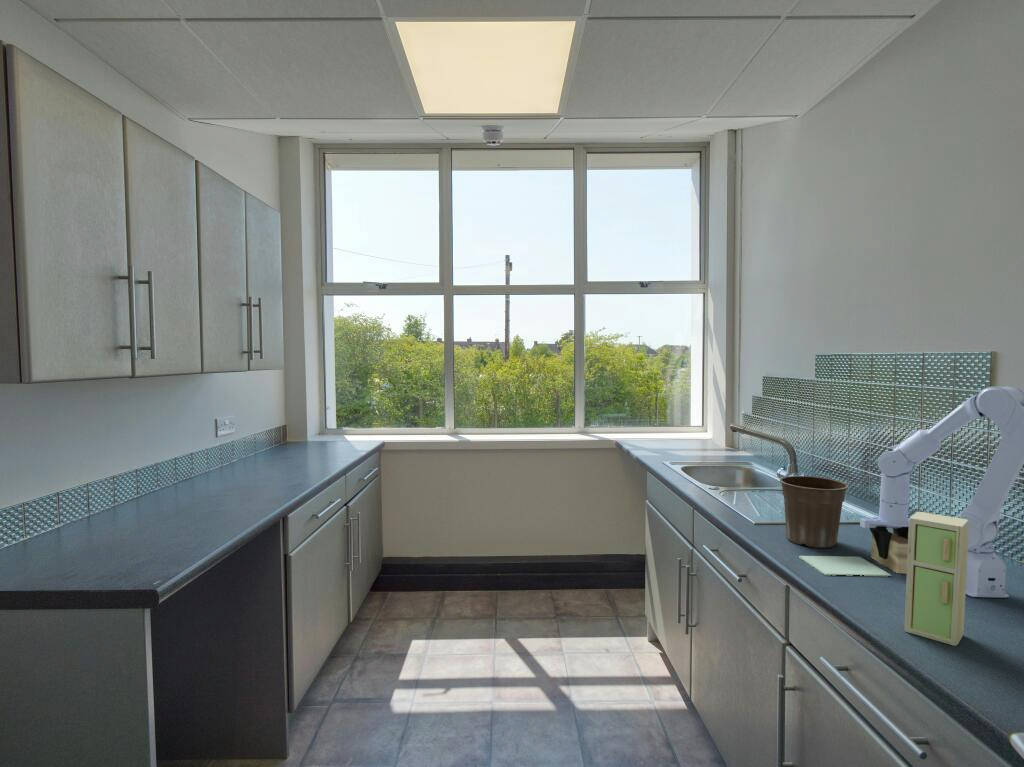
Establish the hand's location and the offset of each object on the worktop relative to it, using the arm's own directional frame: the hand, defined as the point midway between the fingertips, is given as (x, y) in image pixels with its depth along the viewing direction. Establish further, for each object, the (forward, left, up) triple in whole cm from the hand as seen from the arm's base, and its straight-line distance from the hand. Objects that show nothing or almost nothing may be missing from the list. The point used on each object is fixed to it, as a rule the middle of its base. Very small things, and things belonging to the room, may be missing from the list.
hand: (890, 557), depth 143 cm
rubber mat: (-1, +12, -2) cm, 12 cm away
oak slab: (0, 0, -2) cm, 2 cm away
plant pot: (+18, +10, -2) cm, 21 cm away
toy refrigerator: (-35, +15, -2) cm, 38 cm away
